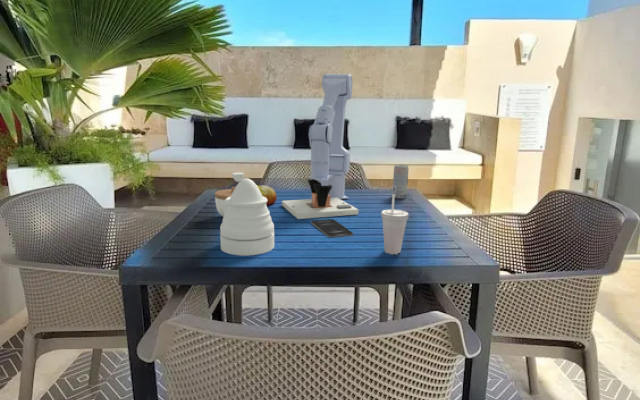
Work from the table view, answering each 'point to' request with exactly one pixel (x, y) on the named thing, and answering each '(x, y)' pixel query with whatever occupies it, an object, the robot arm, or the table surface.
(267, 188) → the fruit
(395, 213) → the smoothie
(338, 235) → the smartphone
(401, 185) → the energy drink
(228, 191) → the lidded jar
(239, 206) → the honey pot
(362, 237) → the table surface
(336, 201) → the socket plate
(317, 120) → the robot arm
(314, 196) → the orange cube
